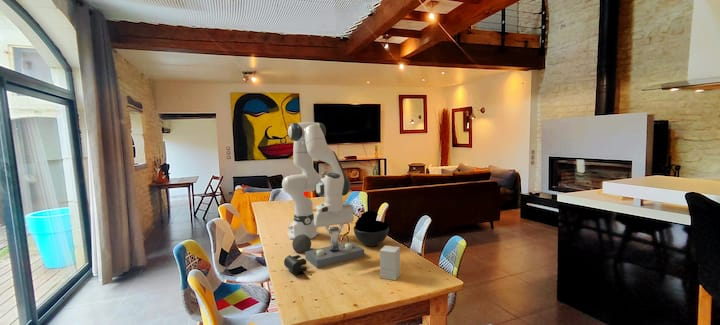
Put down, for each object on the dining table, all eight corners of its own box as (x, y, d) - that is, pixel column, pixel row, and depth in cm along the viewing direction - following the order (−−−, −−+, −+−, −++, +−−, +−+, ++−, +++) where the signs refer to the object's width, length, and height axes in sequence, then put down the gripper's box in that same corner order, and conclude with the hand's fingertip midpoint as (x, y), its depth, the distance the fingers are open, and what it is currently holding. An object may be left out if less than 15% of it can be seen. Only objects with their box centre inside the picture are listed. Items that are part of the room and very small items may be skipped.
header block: (305, 261, 164) (305, 248, 163) (350, 250, 178) (350, 239, 177) (317, 271, 152) (316, 257, 152) (364, 259, 166) (364, 246, 165)
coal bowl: (381, 237, 200) (380, 207, 198) (394, 248, 181) (394, 214, 179) (349, 241, 194) (349, 210, 192) (360, 252, 175) (359, 218, 173)
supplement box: (400, 274, 148) (400, 246, 147) (395, 280, 141) (395, 252, 140) (385, 271, 151) (385, 244, 150) (379, 278, 144) (379, 250, 143)
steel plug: (328, 248, 165) (328, 227, 164) (336, 246, 167) (336, 226, 167) (332, 250, 161) (332, 229, 160) (340, 249, 164) (340, 228, 163)
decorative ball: (297, 249, 182) (296, 231, 181) (314, 250, 180) (313, 232, 179) (289, 255, 172) (288, 237, 171) (307, 256, 170) (307, 238, 169)
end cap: (284, 270, 154) (283, 256, 153) (298, 266, 158) (297, 253, 157) (292, 277, 145) (292, 263, 145) (307, 273, 150) (306, 259, 149)
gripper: (350, 202, 170) (350, 228, 171) (312, 206, 161) (313, 234, 163) (355, 205, 164) (355, 231, 166) (316, 209, 155) (317, 238, 157)
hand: (334, 233), depth 164 cm, fingers closed on steel plug, 4 cm apart
